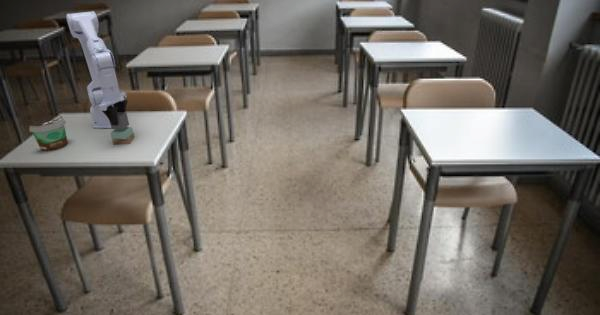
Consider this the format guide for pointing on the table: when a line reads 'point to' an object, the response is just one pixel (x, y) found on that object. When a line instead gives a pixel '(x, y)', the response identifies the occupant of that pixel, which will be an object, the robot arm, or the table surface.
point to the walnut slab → (124, 140)
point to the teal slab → (121, 133)
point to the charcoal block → (121, 121)
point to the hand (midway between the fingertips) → (118, 122)
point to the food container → (50, 134)
